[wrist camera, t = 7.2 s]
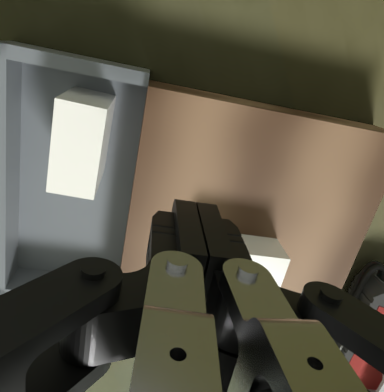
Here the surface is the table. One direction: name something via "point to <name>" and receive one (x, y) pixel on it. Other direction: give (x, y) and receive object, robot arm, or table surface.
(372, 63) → the table surface
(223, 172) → the tan flat block
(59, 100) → the tile
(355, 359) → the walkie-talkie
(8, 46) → the box
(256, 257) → the tile
